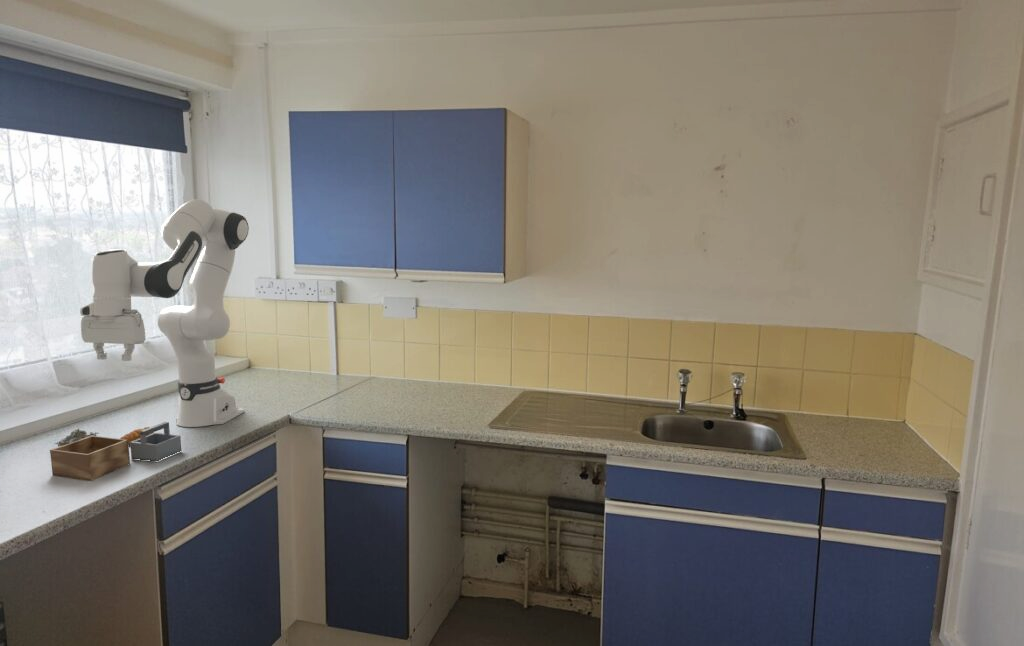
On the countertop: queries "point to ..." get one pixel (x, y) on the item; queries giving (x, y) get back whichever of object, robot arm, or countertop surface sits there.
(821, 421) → the countertop surface
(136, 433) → the pastry
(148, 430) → the small crate
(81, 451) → the big crate
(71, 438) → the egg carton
